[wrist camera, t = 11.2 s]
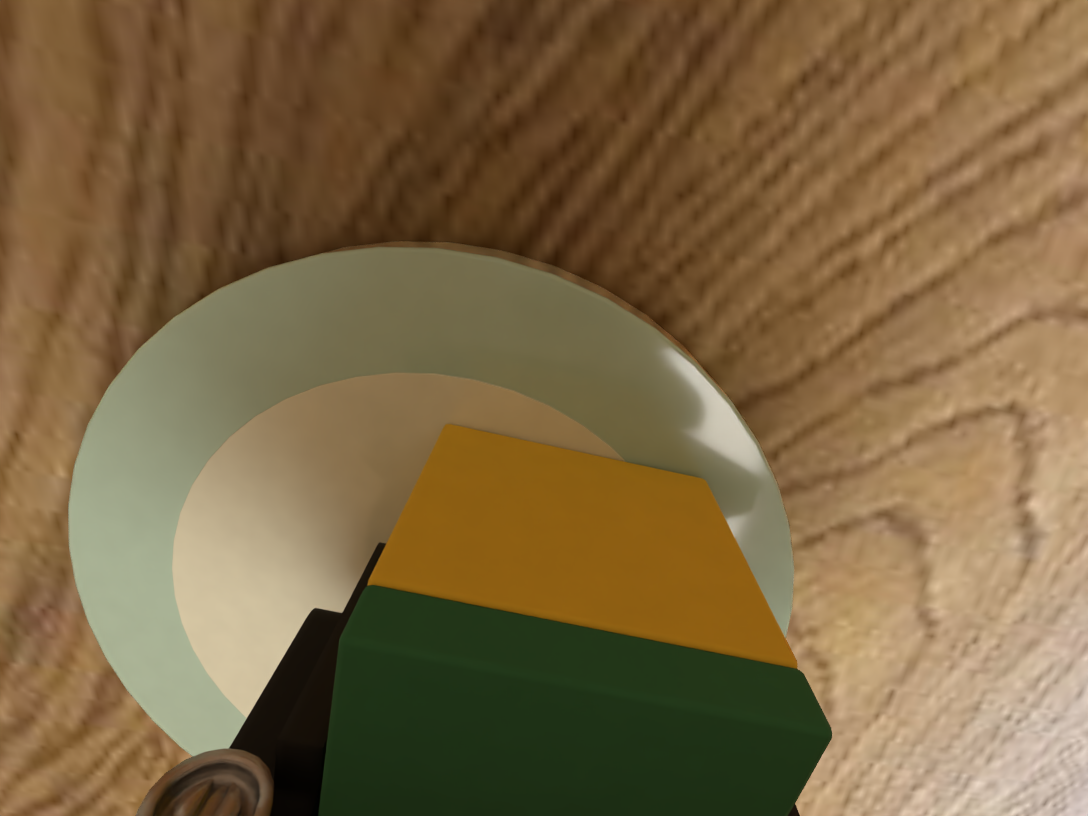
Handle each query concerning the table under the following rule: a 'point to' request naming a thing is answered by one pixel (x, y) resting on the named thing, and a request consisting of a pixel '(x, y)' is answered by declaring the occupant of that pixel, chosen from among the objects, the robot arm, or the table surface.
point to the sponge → (564, 651)
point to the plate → (358, 449)
